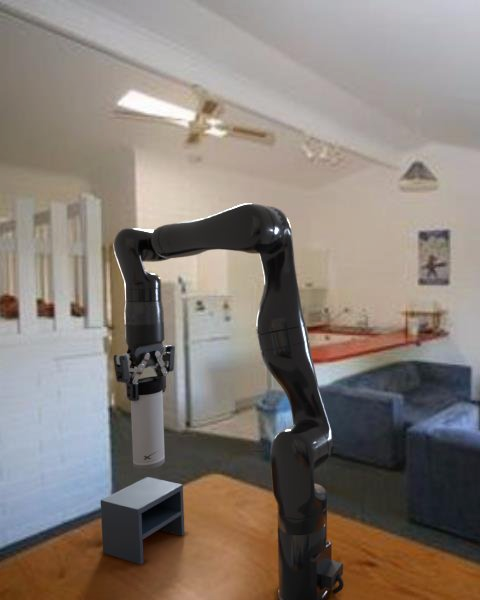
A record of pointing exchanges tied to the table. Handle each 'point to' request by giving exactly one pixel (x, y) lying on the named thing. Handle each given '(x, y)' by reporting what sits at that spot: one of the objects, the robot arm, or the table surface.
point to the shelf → (140, 516)
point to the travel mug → (148, 424)
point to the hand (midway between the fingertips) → (147, 395)
